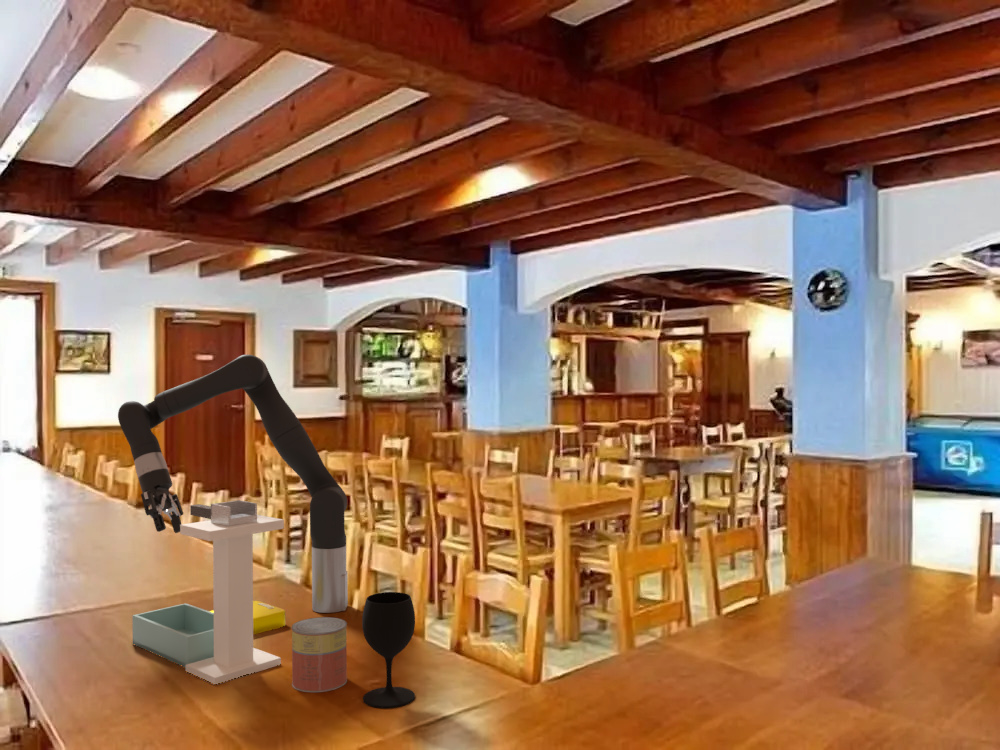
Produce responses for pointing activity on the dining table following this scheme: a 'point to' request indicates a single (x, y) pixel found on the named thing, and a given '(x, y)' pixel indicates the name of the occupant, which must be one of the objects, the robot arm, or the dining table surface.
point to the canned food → (319, 654)
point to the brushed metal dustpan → (227, 512)
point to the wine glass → (388, 641)
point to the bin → (176, 633)
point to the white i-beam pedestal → (232, 600)
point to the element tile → (266, 617)
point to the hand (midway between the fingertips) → (170, 531)
